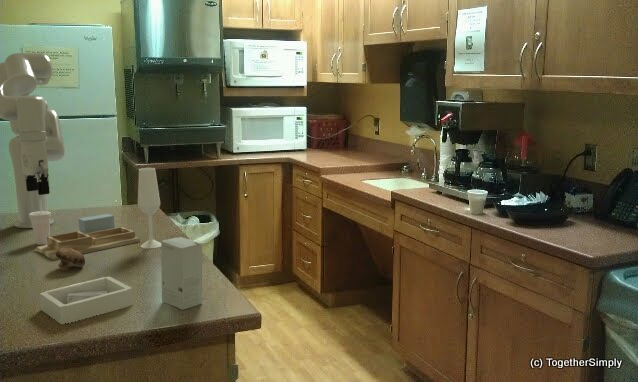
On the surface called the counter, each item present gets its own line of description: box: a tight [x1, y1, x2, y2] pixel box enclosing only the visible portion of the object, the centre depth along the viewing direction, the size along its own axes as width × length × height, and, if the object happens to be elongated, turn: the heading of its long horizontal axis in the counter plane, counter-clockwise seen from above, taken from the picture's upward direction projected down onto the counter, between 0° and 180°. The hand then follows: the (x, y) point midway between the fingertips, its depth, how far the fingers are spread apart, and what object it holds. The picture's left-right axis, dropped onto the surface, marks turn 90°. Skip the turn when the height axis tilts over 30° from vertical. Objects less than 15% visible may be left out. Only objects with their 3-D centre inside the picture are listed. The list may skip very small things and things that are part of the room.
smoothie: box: [29, 199, 52, 246], centre depth 192 cm, size 6×6×14 cm
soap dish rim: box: [39, 276, 134, 325], centre depth 139 cm, size 12×16×4 cm
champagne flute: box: [137, 167, 161, 249], centre depth 187 cm, size 7×7×24 cm
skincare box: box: [160, 236, 203, 311], centre depth 141 cm, size 8×6×15 cm
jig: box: [36, 226, 141, 261], centre depth 189 cm, size 13×27×4 cm, turn 134°
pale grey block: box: [78, 213, 116, 234], centre depth 203 cm, size 4×10×6 cm, turn 133°
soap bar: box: [66, 291, 107, 304], centre depth 140 cm, size 10×6×6 cm, turn 103°
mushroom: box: [56, 248, 86, 272], centre depth 167 cm, size 8×8×6 cm
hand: (38, 192), depth 190 cm, fingers open, 9 cm apart
